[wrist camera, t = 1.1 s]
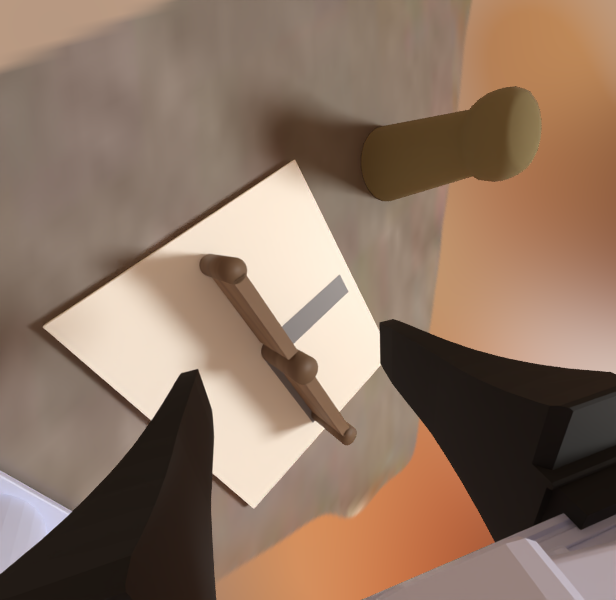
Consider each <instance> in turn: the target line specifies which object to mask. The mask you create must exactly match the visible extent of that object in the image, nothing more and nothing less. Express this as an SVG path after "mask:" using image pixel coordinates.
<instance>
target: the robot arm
mask: <svg viewBox="0 0 616 600" xmlns="http://www.w3.org/2000/svg"><path fill="white" fill-rule="evenodd" d="M380 364H381V365H382V367H383V369H384V371H385V372H386V374H387V376H388V377H389V379H390V381H391V382H392V384H393V385H394V386H395V388H396V389H397V390H398V392H399V393H400V394H401V395H402V397H403V398H404V399H405V400H406V402H407V403H408V404H409V405H410V407H411V408H412V409H413V411H414V412H415V413H416V414H417V416H418V417H419V418H420V419H421V421H422V422H423V423H424V424H425V426H426V427H427V428H428V430H429V431H430V432H431V434H432V435H433V437H434V438H435V440H436V441H437V443H438V444H439V446H440V448H441V449H442V451H443V452H444V454H445V455H446V457H447V458H448V460H449V462H450V463H451V465H452V467H453V468H454V470H455V472H456V473H457V475H458V476H459V478H460V480H461V481H462V483H463V485H464V487H465V488H466V490H467V492H468V494H469V495H470V497H471V499H472V501H473V502H474V504H475V506H476V508H477V509H478V511H479V513H480V515H481V517H482V519H483V521H484V522H485V524H486V526H487V528H488V530H489V532H490V534H491V535H492V537H493V539H494V541H495V543H493V544H490V545H488V546H486V547H484V548H481V549H479V550H477V551H474V552H472V553H470V554H467V555H465V556H463V557H460V558H458V559H456V560H453V561H451V562H449V563H446V564H444V565H442V566H439V567H437V568H435V569H432V570H430V571H428V572H425V573H423V574H421V575H418V576H416V577H414V578H411V579H409V580H407V581H404V582H402V583H400V584H397V585H395V586H393V587H390V588H388V589H386V590H383V591H381V592H379V593H376V594H374V595H372V596H370V597H367V598H365V599H362V600H616V374H614V373H611V372H602V371H590V370H579V369H568V368H561V367H553V366H546V365H539V364H533V363H528V362H523V361H518V360H513V359H508V358H504V357H500V356H495V355H492V354H488V353H485V352H481V351H477V350H474V349H471V348H467V347H465V346H462V345H459V344H456V343H453V342H450V341H447V340H445V339H442V338H440V337H437V336H435V335H432V334H430V333H427V332H425V331H422V330H420V329H418V328H415V327H413V326H410V325H408V324H405V323H403V322H400V321H397V320H394V319H392V320H388V321H384V322H380ZM213 452H214V425H213V413H212V408H211V405H210V402H209V399H208V396H207V393H206V390H205V387H204V385H203V382H202V379H201V376H200V373H199V370H198V369H195V370H191V371H187V372H183V373H181V374H180V375H179V377H178V378H177V380H176V381H175V383H174V385H173V387H172V388H171V390H170V392H169V393H168V395H167V397H166V398H165V400H164V402H163V403H162V405H161V406H160V408H159V409H158V411H157V413H156V414H155V416H154V417H153V419H152V420H151V422H150V423H149V425H148V426H147V427H146V429H145V430H144V432H143V433H142V434H141V436H140V437H139V439H138V440H137V441H136V443H135V444H134V445H133V447H132V448H131V449H130V450H129V452H128V453H127V454H126V455H125V456H124V458H123V459H122V460H121V461H120V462H119V463H118V465H117V466H116V467H115V468H114V469H113V470H112V471H111V473H110V474H109V475H108V476H107V477H106V478H105V479H104V480H103V481H102V482H101V483H100V484H99V485H98V486H97V487H96V488H95V489H94V490H93V491H92V492H91V494H90V495H89V496H88V497H87V498H86V499H85V500H84V501H83V502H82V503H81V504H80V505H79V506H78V507H76V508H75V509H74V510H73V511H71V510H69V509H67V508H65V507H64V506H62V505H60V504H58V503H57V502H55V501H53V500H51V499H50V498H48V497H46V496H44V495H43V494H41V493H39V492H37V491H36V490H34V489H32V488H30V487H29V486H27V485H25V484H23V483H22V482H20V481H18V480H16V479H15V478H13V477H11V476H9V475H8V474H6V473H4V472H2V471H1V470H0V600H216V591H215V577H214V560H213V543H212V522H211V490H212V471H213Z"/></svg>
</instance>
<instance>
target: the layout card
mask: <svg viewBox="0 0 616 600" xmlns="http://www.w3.org/2000/svg"><path fill="white" fill-rule="evenodd" d="M207 254H215V255H223V256H230V257H237V258H240V259H241V260H243V261H244V262H245V264H246V266H247V277H248V278H249V280H250V281H251V282H252V284H253V285H254V287H255V288H256V290H257V291H258V293H259V294H260V296H261V297H262V299H263V300H264V302H265V303H266V304H267V306H268V307H269V309H270V310H271V312H272V313H273V315H274V316H275V318H276V319H277V321H278V322H279V324H280V325H281V326H282V328H283V329H284V331H285V332H286V334H287V335H288V337H289V338H290V340H291V341H292V343H293V344H294V346H295V347H296V348H297V349H298V350H300V351H302V352H304V353H305V354H307V355H309V356H311V357H313V358H314V359H315V360H316V361H317V363H318V372H317V375H316V376H315V377H316V379H317V380H318V381H319V383H320V384H321V386H322V387H323V389H324V390H325V392H326V393H327V395H328V396H329V398H330V399H331V401H332V402H333V403H334V405H335V406H336V408H337V409H338V411H339V412H340V410H341V409H342V408H343V407H344V406H345V405H346V404H347V403H348V401H349V400H350V399H351V398H352V397H353V396H354V395H355V393H356V392H357V391H358V390H359V389H360V388H361V387H362V386H363V384H364V383H365V382H366V381H367V380H368V379H369V378H370V376H371V375H372V374H373V373H374V372H375V371H376V370H377V369H378V367H379V366H380V365H381V364H380V332H379V330H378V328H377V326H376V324H375V322H374V320H373V318H372V316H371V314H370V312H369V309H368V307H367V305H366V303H365V301H364V299H363V297H362V295H361V293H360V291H359V289H358V287H357V285H356V283H355V281H354V279H353V277H352V275H351V273H350V271H349V269H348V267H347V265H346V263H345V261H344V259H343V256H342V254H341V252H340V250H339V248H338V246H337V244H336V242H335V240H334V238H333V236H332V234H331V232H330V230H329V228H328V226H327V224H326V222H325V220H324V218H323V216H322V214H321V212H320V210H319V208H318V205H317V203H316V201H315V199H314V197H313V195H312V193H311V191H310V189H309V187H308V185H307V183H306V181H305V179H304V177H303V175H302V173H301V171H300V169H299V167H298V165H297V163H296V161H295V160H293V161H291V162H289V163H288V164H286V165H285V166H283V167H282V168H280V169H279V170H277V171H276V172H274V173H272V174H271V175H269V176H268V177H266V178H265V179H263V180H262V181H260V182H259V183H257V184H256V185H254V186H253V187H251V188H250V189H248V190H247V191H245V192H244V193H242V194H241V195H239V196H238V197H236V198H235V199H233V200H232V201H230V202H229V203H227V204H226V205H224V206H223V207H221V208H220V209H218V210H217V211H215V212H214V213H212V214H211V215H209V216H208V217H206V218H205V219H203V220H201V221H200V222H198V223H197V224H195V225H194V226H192V227H191V228H189V229H188V230H186V231H185V232H183V233H182V234H180V235H179V236H177V237H176V238H174V239H173V240H171V241H170V242H168V243H167V244H165V245H164V246H162V247H161V248H159V249H158V250H156V251H155V252H153V253H152V254H150V255H149V256H147V257H146V258H144V259H143V260H141V261H140V262H138V263H137V264H135V265H134V266H132V267H130V268H129V269H127V270H126V271H124V272H123V273H121V274H120V275H118V276H117V277H115V278H114V279H112V280H111V281H109V282H108V283H106V284H105V285H103V286H102V287H100V288H99V289H97V290H96V291H94V292H93V293H91V294H90V295H88V296H87V297H85V298H84V299H82V300H81V301H79V302H78V303H76V304H75V305H73V306H72V307H70V308H69V309H67V310H66V311H64V312H63V313H61V314H59V315H58V316H56V317H55V318H53V319H52V320H50V321H49V322H47V323H46V324H44V326H43V328H44V329H45V330H47V331H48V332H49V333H50V334H51V335H52V336H54V337H55V338H56V339H57V340H58V341H59V342H61V343H62V344H63V345H64V346H65V347H66V348H68V349H69V350H70V351H71V352H72V353H73V354H75V355H76V356H77V357H78V358H79V359H80V360H82V361H83V362H84V363H85V364H86V365H87V366H88V367H90V368H91V369H92V370H93V371H94V372H95V373H97V374H98V375H99V376H100V377H101V378H102V379H104V380H105V381H106V382H107V383H108V384H109V385H111V386H112V387H113V388H114V389H115V390H116V391H118V392H119V393H120V394H121V395H122V396H123V397H125V398H126V399H127V400H128V401H129V402H130V403H131V404H133V405H134V406H135V407H136V408H137V409H138V410H140V411H141V412H142V413H143V414H144V415H145V416H147V417H148V418H149V419H150V420H152V419H153V417H154V416H155V414H156V413H157V411H158V409H159V408H160V406H161V405H162V403H163V402H164V400H165V398H166V397H167V395H168V393H169V392H170V390H171V388H172V387H173V385H174V383H175V381H176V380H177V378H178V377H179V375H180V374H181V373H183V372H187V371H191V370H195V369H198V370H199V373H200V376H201V379H202V382H203V385H204V387H205V390H206V393H207V396H208V399H209V402H210V405H211V408H212V413H213V425H214V452H213V471H212V473H213V474H214V475H215V476H216V477H218V478H219V479H220V480H221V481H222V482H223V483H224V484H226V485H227V486H228V487H229V488H230V489H231V490H233V491H234V492H235V493H236V494H237V495H238V496H240V497H241V498H242V499H243V500H244V501H245V502H247V503H248V504H249V505H250V506H251V507H252V508H255V507H256V506H257V505H258V503H259V502H260V501H261V500H262V499H263V498H264V497H265V496H266V494H267V493H268V492H269V491H270V490H271V489H272V488H273V486H274V485H275V484H276V483H277V482H278V481H279V480H280V479H281V477H282V476H283V475H284V474H285V473H286V472H287V471H288V469H289V468H290V467H291V466H292V465H293V464H294V463H295V462H296V460H297V459H298V458H299V457H300V456H301V455H302V454H303V452H304V451H305V450H306V449H307V448H308V447H309V446H310V445H311V443H312V442H313V441H314V440H315V439H316V438H317V437H318V435H319V434H320V433H321V432H322V431H323V430H324V429H325V428H323V427H322V426H321V425H320V424H319V423H317V422H316V421H315V420H314V419H313V418H312V416H311V413H312V411H311V410H310V408H309V407H308V406H307V404H306V403H305V402H304V400H303V399H302V398H301V396H300V395H299V394H298V392H297V391H296V390H295V388H294V387H293V386H292V384H291V383H290V382H289V380H288V379H287V378H286V376H285V375H284V374H283V372H281V371H280V370H279V369H277V368H276V367H274V366H273V365H272V364H270V363H269V362H267V361H266V360H265V359H264V358H263V357H262V354H261V349H262V346H263V344H262V343H261V342H260V341H259V340H258V338H257V337H256V336H255V334H254V333H253V332H252V330H251V329H250V328H249V326H248V325H247V324H246V322H245V321H244V320H243V318H242V317H241V316H240V314H239V313H238V312H237V310H236V309H235V308H234V306H233V305H232V304H231V302H230V301H229V300H228V298H227V297H226V296H225V294H224V293H223V292H222V290H221V289H220V288H219V286H218V285H217V284H216V282H215V281H214V280H213V278H212V277H209V276H206V275H204V274H203V273H202V272H201V270H200V267H199V263H200V260H201V259H202V257H203V256H205V255H207Z"/></svg>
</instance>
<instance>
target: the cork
mask: <svg viewBox="0 0 616 600" xmlns="http://www.w3.org/2000/svg"><path fill="white" fill-rule="evenodd" d="M540 137H541V114H540V109H539V106H538V103H537V101H536V99H535V98H534V96H533V95H532V93H531V92H530V91H528V90H526V89H523V88H520V87H516V86H515V87H506V88H502V89H498V90H496V91H493V92H490V93H488V94H486V95H485V96H483V97H482V98H480V99H479V100H478V101H477V102H476V103H475V104H474V105H473V106H472V107H471V108H470V110H465V111H460V112H455V113H450V114H444V115H439V116H434V117H429V118H423V119H418V120H413V121H407V122H402V123H397V124H392V125H386V126H382V127H378V128H376V129H375V130H373V131H372V132H371V133H370V134H369V136H368V137H367V139H366V141H365V143H364V146H363V150H362V154H361V169H362V174H363V179H364V181H365V183H366V186H367V188H368V190H369V191H370V192H371V193H372V194H373V195H374V197H376V198H378V199H380V200H382V201H392V200H396V199H399V198H402V197H406V196H409V195H412V194H416V193H419V192H422V191H425V190H429V189H432V188H435V187H439V186H442V185H445V184H449V183H452V182H455V181H459V180H462V179H465V178H469V177H472V176H473V177H475V178H476V179H478V180H484V181H492V182H495V181H503V180H506V179H509V178H511V177H514V176H515V175H518V174H519V173H521V172H522V171H523V170H525V169H526V168H527V167H528V166H529V165H530V163H531V162H532V160H533V158H534V156H535V154H536V152H537V150H538V146H539V142H540Z"/></svg>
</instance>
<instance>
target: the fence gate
mask: <svg viewBox="0 0 616 600" xmlns="http://www.w3.org/2000/svg"><path fill="white" fill-rule="evenodd" d="M199 267H200V270H201V272H202V273H203V274H204V275H206V276H209V277H212V278H213V280H214V281H215V282H216V284H217V285H218V286H219V288H220V289H221V290H222V292H223V293H224V294H225V296H226V297H227V298H228V300H229V301H230V302H231V304H232V305H233V306H234V308H235V309H236V310H237V312H238V313H239V314H240V316H241V317H242V318H243V320H244V321H245V322H246V324H247V325H248V326H249V328H250V329H251V330H252V332H253V333H254V334H255V336H256V337H257V338H258V340H259V341H260V342H261V343H262V344H264V345H266V346H267V347H269V348H270V349H272V350H274V351H275V352H277V353H278V354H280V355H282V356H283V357H285V358H286V359H288V360H289V359H290V358H291V357H293V356H294V355H295V354H296V353H297V352H298V350H297V348H296V347H295V346H294V344H293V343H292V341H291V340H290V338H289V337H288V335H287V334H286V332H285V331H284V329H283V328H282V326H281V325H280V324H279V322H278V321H277V319H276V318H275V316H274V315H273V313H272V312H271V310H270V309H269V307H268V306H267V304H266V303H265V302H264V300H263V299H262V297H261V296H260V294H259V293H258V291H257V290H256V288H255V287H254V285H253V284H252V282H251V281H250V280H249V278H248V277H247V266H246V264H245V262H244V261H243V260H241V259H240V258H237V257H230V256H223V255H215V254H207V255H205V256H203V257H202V259H201V260H200V263H199Z"/></svg>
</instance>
